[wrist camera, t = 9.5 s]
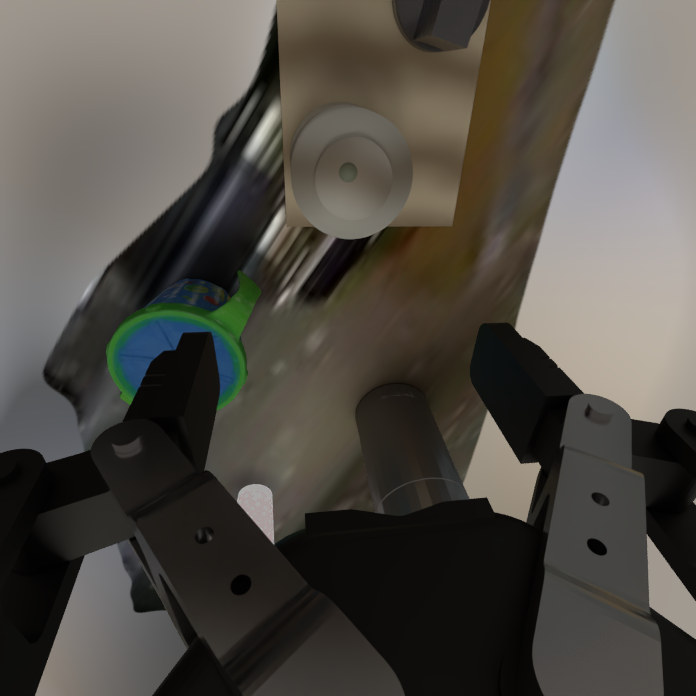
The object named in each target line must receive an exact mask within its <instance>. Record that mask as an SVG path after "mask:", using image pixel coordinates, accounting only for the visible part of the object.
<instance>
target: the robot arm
mask: <svg viewBox="0 0 696 696" xmlns="http://www.w3.org/2000/svg"><path fill="white" fill-rule="evenodd" d="M470 377H471V381H472V384H473V386H474V388H475V389H476V391H477V393H478V394H479V396H480V397H481V399H482V401H483V402H484V404H485V406H486V407H487V409H488V411H489V412H490V414H491V416H492V417H493V419H494V420H495V422H496V424H497V425H498V427H499V429H500V430H501V432H502V434H503V435H504V437H505V439H506V440H507V442H508V443H509V445H510V447H511V448H512V450H513V452H514V453H515V455H516V457H517V458H518V460H519V461H520V463H521V464H523V463H535V462H539V464H540V465H541V469H540V471H539V474H538V476H537V480H536V484H535V489H534V493H533V497H532V501H531V505H530V509H529V513H528V518H527V522H524V521H522V520H519V519H516V518H514V517H511V516H508V515H504V514H499V513H495V512H494V511H493V509H492V507H491V505H490V503H489V501H488V499H487V498H477V499H469V497H468V495H467V492H466V490H465V488H464V486H463V483H462V481H461V479H460V476H459V474H458V472H457V469H456V467H455V465H454V463H453V460H452V458H451V456H450V453H449V451H448V449H447V446H446V444H445V442H444V440H443V437H442V435H441V433H440V430H439V428H438V426H437V424H436V421H435V419H434V416H433V414H432V412H431V410H430V407H429V405H428V403H427V400H426V398H425V396H424V395H423V394H422V392H420V391H419V390H418V389H416V388H414V387H412V386H410V385H405V384H390V385H385V386H382V387H379V388H377V389H375V390H373V391H371V392H370V393H369V394H367V395H366V396H365V397H364V398H363V399H362V400H361V402H360V403H359V405H358V407H357V410H356V423H357V428H358V433H359V438H360V444H361V448H362V453H363V458H364V463H365V468H366V473H367V478H368V483H369V488H370V493H371V497H372V502H373V507H374V512H375V513H373V512H366V511H359V510H352V509H350V510H339V511H328V512H316V513H305V527H306V528H305V529H302V530H299V531H297V532H295V533H292V534H290V535H288V536H286V537H285V538H283V539H282V540H280V541H278V542H277V543H275V544H273V543H272V542H271V541H270V539H269V538H268V537H267V536H266V535H265V534H264V532H263V531H262V530H261V529H260V528H259V527H258V526H257V524H256V523H255V522H254V521H253V520H252V519H251V517H250V516H249V515H248V514H247V513H246V512H245V511H244V509H243V508H242V507H241V506H240V505H239V504H238V502H237V501H236V500H235V499H234V498H233V497H232V496H231V494H230V493H229V492H228V491H227V490H226V489H225V487H224V486H223V485H222V484H221V483H220V482H219V481H218V479H217V478H216V477H215V476H214V475H213V474H212V473H211V472H209V471H207V470H205V471H204V469H205V464H206V459H207V454H208V449H209V445H210V440H211V435H212V430H213V425H214V421H215V416H216V411H217V406H218V401H219V396H220V377H219V371H218V365H217V359H216V353H215V346H214V340H213V336H212V333H211V332H184V333H182V335H181V338H180V340H179V343H178V345H177V348H176V350H167V351H163V352H162V353H161V354H159V355H158V356H157V357H156V358H155V359H153V360H152V361H151V363H150V365H149V367H148V369H147V371H146V373H145V376H144V377H143V380H142V382H141V384H140V387H139V388H138V390H137V392H136V394H135V396H134V399H133V401H132V403H131V405H130V407H129V409H128V411H127V413H126V415H125V418H124V420H123V422H121V423H118V424H116V425H114V426H112V427H110V428H108V429H106V430H105V431H104V432H102V433H101V434H100V435H99V436H98V437H97V438H96V439H95V441H94V442H93V444H92V446H91V450H88V451H86V452H83V453H80V454H76V455H73V456H69V457H66V458H62V459H59V460H55V461H52V462H48V463H46V462H45V460H44V458H43V456H42V455H41V454H40V453H39V452H37V451H35V450H32V449H15V450H10V451H6V452H3V453H0V696H35V694H36V691H37V688H38V685H39V682H40V679H41V676H42V674H43V671H44V668H45V666H46V663H47V660H48V657H49V654H50V651H51V648H52V646H53V643H54V640H55V637H56V634H57V632H58V629H59V626H60V623H61V620H62V618H63V615H64V612H65V609H66V606H67V604H68V600H69V598H70V595H71V592H72V589H73V587H74V584H75V581H76V578H77V575H78V573H79V570H80V567H81V564H82V561H83V558H84V556H85V555H86V554H89V553H92V552H94V551H97V550H99V549H102V548H105V547H108V546H111V545H113V544H116V543H119V542H121V541H124V540H128V542H129V544H130V546H131V547H132V549H133V551H134V553H135V554H136V556H137V558H138V560H139V561H140V563H141V565H142V567H143V568H144V570H145V572H146V574H147V575H148V577H149V579H150V581H151V582H152V584H153V586H154V588H155V589H156V591H157V593H158V595H159V597H160V598H161V600H162V602H163V604H164V606H165V608H166V610H167V612H168V614H169V616H170V618H171V620H172V622H173V624H174V626H175V628H176V630H177V631H178V634H179V635H180V637H181V639H182V641H183V643H184V644H185V646H186V648H187V651H186V652H185V653H184V655H183V656H182V657H181V659H180V660H179V661H178V662H177V664H176V665H175V667H174V668H173V669H172V670H171V672H170V673H169V674H168V676H167V677H166V678H165V679H164V681H163V682H162V683H161V685H160V686H159V687H158V689H157V690H156V691H155V692H154V694H153V695H152V696H696V639H694V638H693V637H691V636H690V635H689V634H687V633H686V632H684V631H683V630H682V629H680V628H679V627H677V626H676V625H674V624H673V623H672V622H670V621H669V620H667V619H666V618H664V617H663V616H662V615H660V614H659V613H657V612H656V611H655V610H653V609H652V608H650V607H649V589H648V588H649V586H648V559H647V534H648V536H649V537H650V539H651V540H652V542H653V543H654V544H655V546H656V547H657V549H658V550H659V551H660V552H661V554H662V555H663V557H664V558H665V560H666V561H667V562H668V563H669V565H670V566H671V568H672V569H673V570H674V572H675V573H676V575H677V576H678V577H679V579H680V580H681V581H682V583H683V584H684V586H685V587H686V588H687V590H688V591H689V593H690V594H691V595H692V597H693V598H694V599H695V601H696V505H695V504H694V503H693V501H694V500H695V498H696V411H692V410H686V409H672V410H669V411H668V412H667V413H666V414H665V416H664V418H663V419H662V421H661V423H660V424H658V423H652V422H646V421H640V420H634V419H631V418H630V416H629V414H628V413H627V412H626V411H625V410H624V409H623V408H622V407H620V406H619V405H618V404H616V403H614V402H613V401H610V400H608V399H606V398H603V397H600V396H596V395H591V394H584V393H583V392H582V391H581V390H580V389H579V388H578V387H577V386H576V385H575V383H574V382H573V381H572V380H571V379H570V378H569V377H568V376H567V375H566V374H565V373H564V372H563V371H562V370H561V369H560V368H558V367H557V364H556V363H555V362H554V361H553V360H552V359H549V356H548V355H547V354H546V353H545V352H544V351H543V350H542V348H540V346H538V345H536V344H534V343H533V342H531V341H529V340H528V339H526V338H522V337H521V336H520V335H519V333H518V332H517V331H516V330H515V329H514V328H513V327H512V326H511V325H510V324H509V323H484V324H482V325H481V326H480V328H479V331H478V335H477V339H476V344H475V348H474V352H473V356H472V360H471V365H470Z"/></svg>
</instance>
